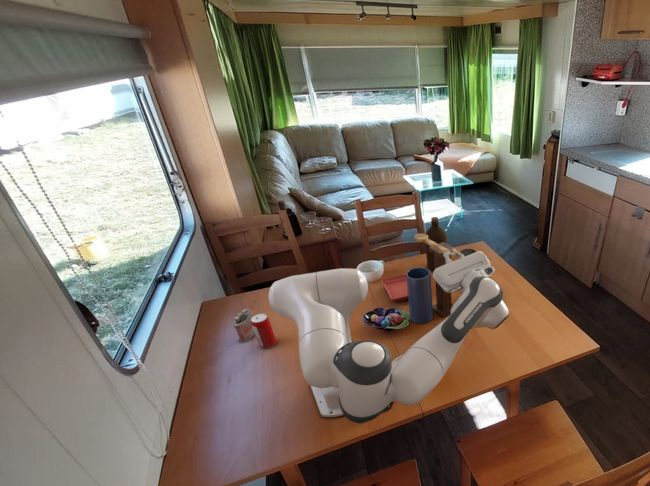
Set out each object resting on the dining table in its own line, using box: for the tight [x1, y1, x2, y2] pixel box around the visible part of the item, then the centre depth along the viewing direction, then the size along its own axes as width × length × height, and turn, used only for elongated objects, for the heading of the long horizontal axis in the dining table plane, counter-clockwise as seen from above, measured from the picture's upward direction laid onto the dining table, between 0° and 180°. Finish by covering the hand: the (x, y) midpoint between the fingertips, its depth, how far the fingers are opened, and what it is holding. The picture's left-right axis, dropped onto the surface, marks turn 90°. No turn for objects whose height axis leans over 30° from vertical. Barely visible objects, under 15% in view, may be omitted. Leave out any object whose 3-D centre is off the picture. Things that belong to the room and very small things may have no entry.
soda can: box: [251, 313, 277, 349], centre depth 134 cm, size 6×6×12 cm
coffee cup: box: [459, 248, 477, 256], centre depth 170 cm, size 8×8×15 cm
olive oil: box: [424, 216, 448, 272], centre depth 179 cm, size 11×11×25 cm
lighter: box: [232, 308, 256, 343], centre depth 139 cm, size 8×3×10 cm, turn 168°
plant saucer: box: [381, 273, 433, 303], centre depth 167 cm, size 18×18×3 cm
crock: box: [405, 266, 434, 325], centre depth 146 cm, size 9×9×20 cm
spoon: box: [413, 233, 456, 259], centre depth 132 cm, size 21×5×1 cm, turn 41°
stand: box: [429, 242, 456, 318], centre depth 148 cm, size 8×8×28 cm
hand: (448, 251), depth 126 cm, fingers closed on spoon
